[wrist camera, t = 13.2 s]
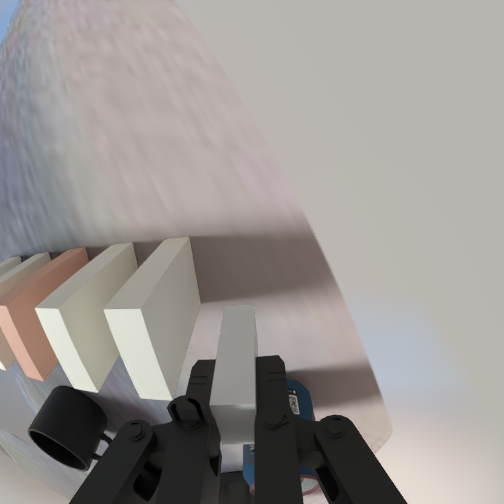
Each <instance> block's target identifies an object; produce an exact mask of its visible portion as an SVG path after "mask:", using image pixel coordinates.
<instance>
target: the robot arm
mask: <svg viewBox="0 0 504 504" xmlns="http://www.w3.org/2000/svg"><path fill="white" fill-rule="evenodd" d="M167 410H168V412H169V414H170V416H171V418H172V420H173V421H171V422H169V423H166V424H161V425H155V426H150V424H149V423H147V422H145V421H143V420H132V421H130V422H128V423H126V424H125V425H124V426H123V427H122V428H121V429H120V430H119V432H118V433H117V435H116V436H115V438H114V439H113V441H112V442H111V443H110V445H109V446H108V448H107V449H106V451H105V452H104V453H103V455H102V456H101V458H100V459H99V461H98V462H97V463H96V465H95V466H94V468H93V469H92V471H91V472H90V474H89V475H88V476H87V478H86V479H85V481H84V482H83V484H82V485H81V487H80V488H79V489H78V491H77V492H76V494H75V495H74V497H73V498H72V500H71V501H70V503H69V504H303V495H302V486H301V477H300V469H299V467H304V468H311V469H312V471H313V473H314V475H315V477H316V479H317V481H318V483H319V485H320V487H321V489H322V491H323V493H324V495H325V497H326V499H327V501H328V503H329V504H407V502H406V501H405V499H404V498H403V496H402V495H401V494H400V492H399V491H398V489H397V488H396V486H395V485H394V483H393V482H392V480H391V479H390V477H389V476H388V474H387V473H386V471H385V470H384V469H383V467H382V466H381V464H380V463H379V461H378V460H377V458H376V457H375V455H374V454H373V452H372V451H371V449H370V448H369V446H368V445H367V443H366V442H365V440H364V439H363V437H362V436H361V434H360V433H359V431H358V430H357V428H356V427H355V425H354V424H353V422H352V421H350V420H349V419H348V418H347V417H344V416H342V415H331V416H327V417H325V418H323V419H321V420H320V421H311V420H306V419H302V418H300V417H298V416H297V415H295V414H294V413H293V411H292V410H291V407H290V400H289V393H288V386H287V378H286V371H285V364H284V362H283V360H282V359H281V358H280V357H279V355H275V356H262V357H258V343H257V333H256V323H255V312H254V304H247V305H232V306H225V307H224V313H223V319H222V325H221V332H220V338H219V344H218V351H217V357H216V360H198V361H197V362H196V363H195V365H194V366H193V367H192V370H191V374H190V378H189V382H188V387H187V391H186V395H185V396H180V397H177V398H175V399H174V400H172V401H171V402H170V403H169V405H168V407H167ZM220 441H221V442H222V444H254V486H255V496H254V495H253V494H252V493H251V492H250V486H249V485H248V483H247V482H246V480H245V478H244V476H243V472H234V473H224V474H221V461H222V454H221V450H220Z"/></svg>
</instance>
